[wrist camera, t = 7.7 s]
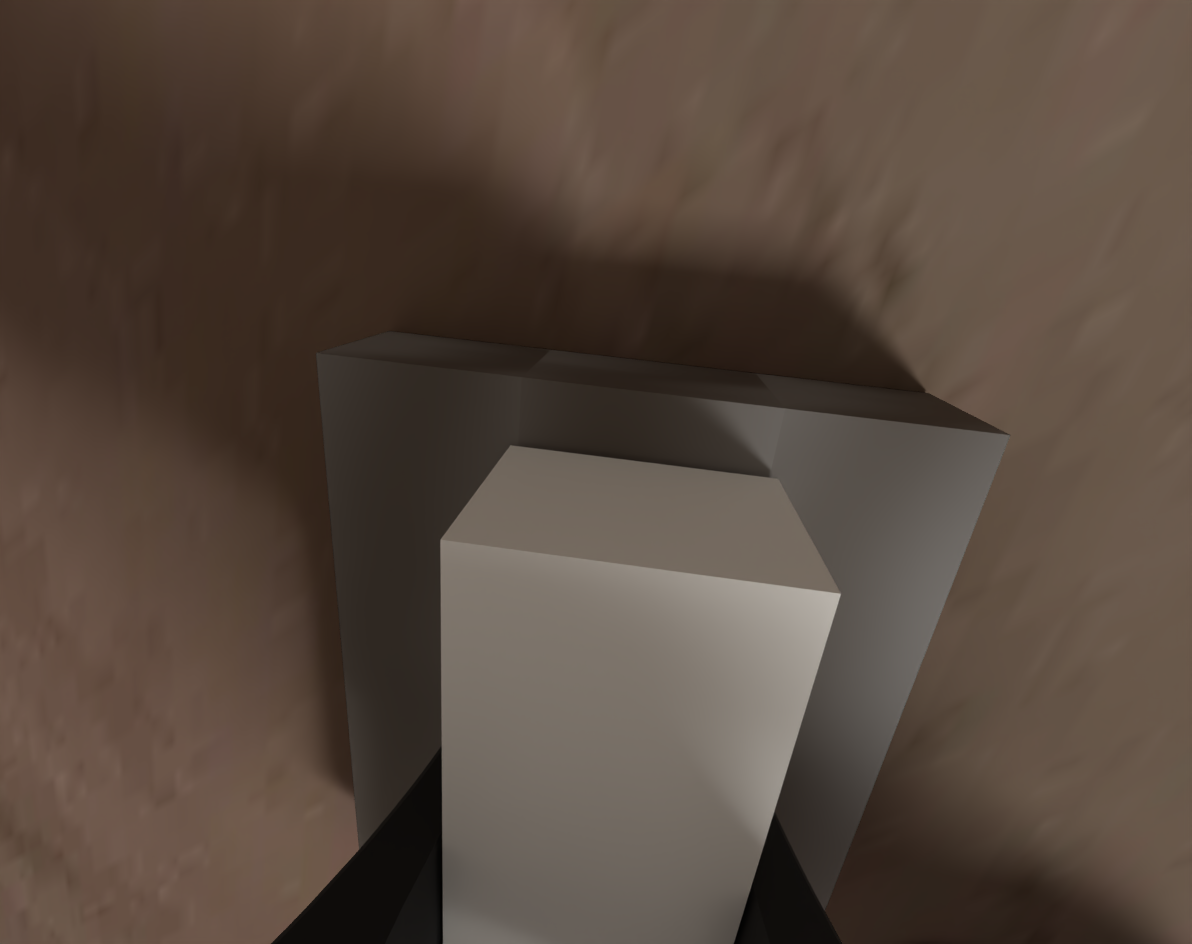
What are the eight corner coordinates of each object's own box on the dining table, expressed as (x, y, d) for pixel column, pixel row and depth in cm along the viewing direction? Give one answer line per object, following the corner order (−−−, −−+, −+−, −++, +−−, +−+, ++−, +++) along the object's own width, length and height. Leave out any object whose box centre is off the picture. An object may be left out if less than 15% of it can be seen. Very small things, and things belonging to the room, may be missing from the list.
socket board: (928, 393, 10) (1009, 435, 8) (766, 895, 15) (785, 1009, 13) (389, 331, 11) (315, 352, 8) (408, 836, 16) (366, 936, 14)
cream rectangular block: (750, 428, 11) (840, 593, 5) (661, 856, 15) (665, 1166, 10) (541, 403, 11) (440, 540, 6) (514, 833, 15) (444, 1124, 10)
